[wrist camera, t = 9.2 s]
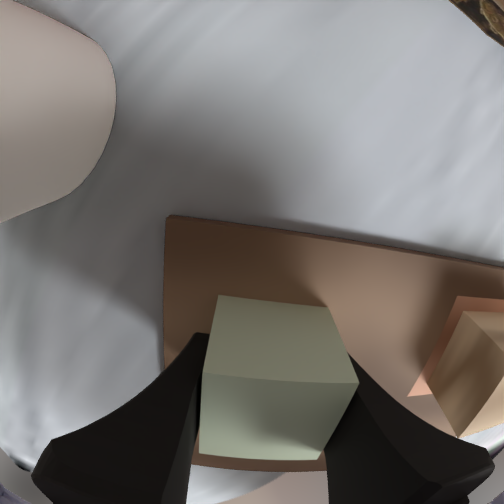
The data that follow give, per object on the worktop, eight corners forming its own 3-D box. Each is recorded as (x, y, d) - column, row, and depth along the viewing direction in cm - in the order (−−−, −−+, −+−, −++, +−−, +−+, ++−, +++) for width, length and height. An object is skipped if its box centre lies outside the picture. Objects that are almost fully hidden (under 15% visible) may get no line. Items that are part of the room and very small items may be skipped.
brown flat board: (440, 446, 16) (442, 451, 16) (173, 454, 15) (172, 460, 15) (541, 275, 11) (546, 279, 10) (170, 214, 10) (166, 218, 10)
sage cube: (303, 384, 12) (316, 459, 8) (210, 375, 12) (198, 453, 8) (328, 307, 11) (359, 382, 7) (218, 294, 10) (202, 371, 7)
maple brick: (478, 376, 13) (509, 420, 9) (426, 383, 12) (457, 438, 9) (511, 312, 11) (554, 352, 7) (463, 310, 11) (512, 361, 7)
